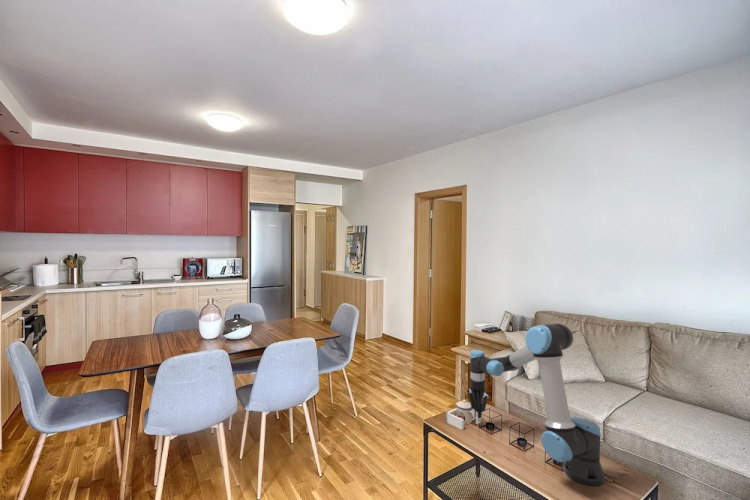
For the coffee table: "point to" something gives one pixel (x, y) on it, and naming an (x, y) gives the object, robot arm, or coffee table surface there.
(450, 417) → the cradle
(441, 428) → the coffee table surface
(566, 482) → the coffee table surface
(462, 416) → the teacup with lid
